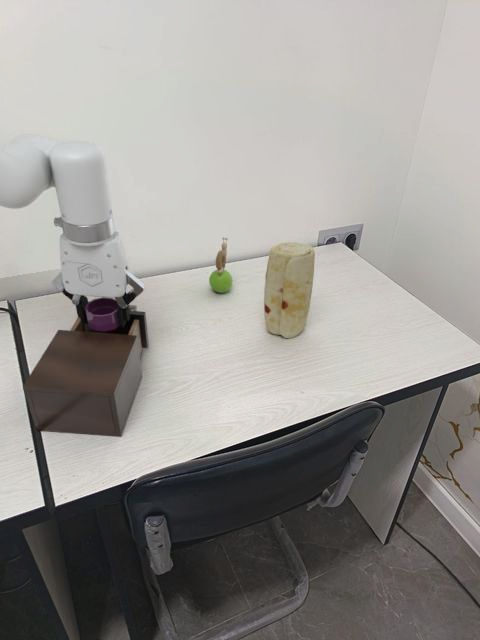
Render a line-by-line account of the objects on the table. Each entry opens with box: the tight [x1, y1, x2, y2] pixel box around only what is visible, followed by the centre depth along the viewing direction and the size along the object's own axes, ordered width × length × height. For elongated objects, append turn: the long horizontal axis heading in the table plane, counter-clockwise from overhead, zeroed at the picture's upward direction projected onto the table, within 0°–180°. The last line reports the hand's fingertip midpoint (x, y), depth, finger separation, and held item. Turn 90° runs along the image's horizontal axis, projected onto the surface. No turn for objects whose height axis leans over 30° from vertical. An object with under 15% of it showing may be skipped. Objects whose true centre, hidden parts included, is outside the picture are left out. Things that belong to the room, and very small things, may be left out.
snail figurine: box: [208, 236, 234, 294], centre depth 113 cm, size 5×6×12 cm
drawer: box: [69, 304, 150, 357], centre depth 92 cm, size 19×12×8 cm, turn 178°
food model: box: [263, 241, 316, 339], centre depth 99 cm, size 10×7×20 cm
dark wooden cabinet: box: [22, 329, 143, 438], centre depth 82 cm, size 15×14×10 cm
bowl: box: [84, 297, 119, 332], centre depth 88 cm, size 6×6×4 cm
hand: (104, 320), depth 88 cm, fingers closed on bowl, 6 cm apart
